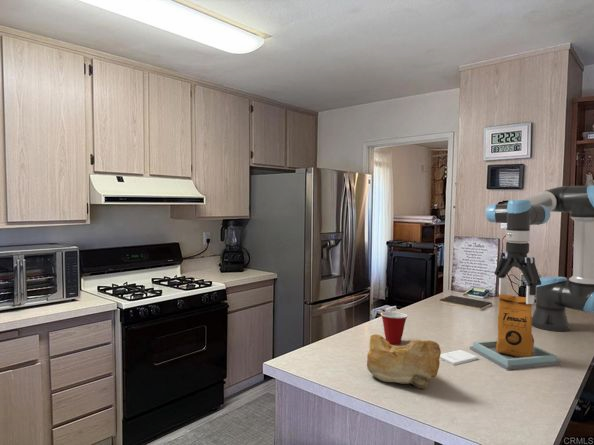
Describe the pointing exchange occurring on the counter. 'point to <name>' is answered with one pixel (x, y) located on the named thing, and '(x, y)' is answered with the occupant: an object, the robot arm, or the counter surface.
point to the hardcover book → (465, 302)
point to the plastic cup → (393, 326)
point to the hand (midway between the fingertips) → (515, 299)
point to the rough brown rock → (403, 361)
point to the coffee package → (514, 327)
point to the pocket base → (512, 362)
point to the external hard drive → (457, 357)
